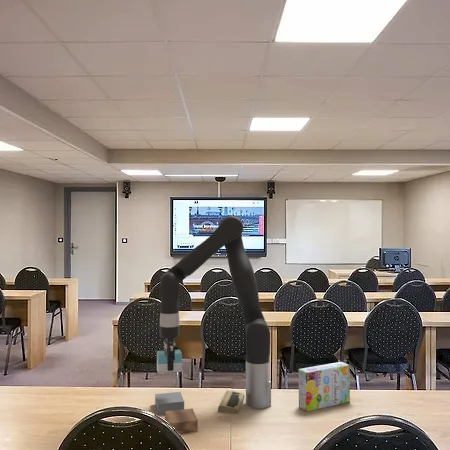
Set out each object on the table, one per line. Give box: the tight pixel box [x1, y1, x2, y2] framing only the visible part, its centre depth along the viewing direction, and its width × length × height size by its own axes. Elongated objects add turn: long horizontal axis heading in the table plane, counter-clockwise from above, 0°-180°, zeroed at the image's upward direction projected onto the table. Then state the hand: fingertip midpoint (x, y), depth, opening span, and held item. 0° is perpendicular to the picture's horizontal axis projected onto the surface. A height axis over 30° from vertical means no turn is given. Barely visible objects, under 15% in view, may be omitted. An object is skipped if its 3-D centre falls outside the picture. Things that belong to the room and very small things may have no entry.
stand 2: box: [164, 408, 199, 435], centre depth 156 cm, size 10×10×4 cm
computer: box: [217, 390, 246, 415], centre depth 175 cm, size 16×8×3 cm, turn 169°
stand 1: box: [154, 391, 185, 416], centre depth 172 cm, size 10×10×4 cm
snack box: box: [298, 361, 351, 412], centre depth 175 cm, size 21×6×15 cm, turn 115°
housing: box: [156, 349, 183, 374], centre depth 172 cm, size 9×6×7 cm, turn 104°
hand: (169, 367), depth 172 cm, fingers closed on housing, 5 cm apart
